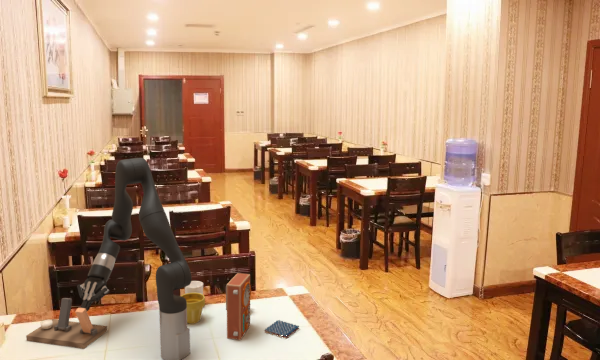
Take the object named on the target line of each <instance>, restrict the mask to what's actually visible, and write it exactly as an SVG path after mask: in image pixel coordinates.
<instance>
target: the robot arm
mask: <svg viewBox="0 0 600 360" xmlns="http://www.w3.org/2000/svg"><path fill="white" fill-rule="evenodd" d="M114 174H115V176H114V177H115V178H114V203H113V209H112V214H111V219H109V220H108V221H106V223H105V225H104V228H103V236H102V242H101V245H100V248H99V249H98V250H99V251H97V252H98V253H97V254H96V256H95V258H94V259H93V262H92V264H91V266H90V268H89V271H88V273H87V278H86V279H85V281H83V283H82V284H80V283H79V284H77V286H76V288H77V291H78V292H77V293H78V295H79V298H80V299H81V300H83V301H82V303H81V305H80V307H79V308H86V311H87V312H89V310H90V308H91V306H92V305H93V302H95V303H96V302H98V301H100V300H101V299H103V298H104V297H105V296H107V295H108V294H109V292H110V289H108V287H107V282H108V281H109V279H110V277H111V274H112V272H113V269H114V267H115V262H116V260H117V257H118V255H119V253H120V250H121V246H120V244H118V243H117V242H115V241H113V240H112V239H116V240H119V241H123V242H124V241H128V240H129V239H130V238H131V235H132V234H133V233H132V232H133V226H132V219H131V216H132V214H133V208H134V202H133V200H132V198H131V196H130V195H129V193H128V191H127V189H126V188H127V186H128V185H134V184H135V185H136V184H139V183H140V184H141V186H142V191H143V197H142V201H141V203H140V207H139V211H138V220H139V223H140V226H141V227H142V231H143V233H144V235H145V237H146V238H147V239H148V240H150V242H151V243H153V244H154V245H156V246H157V247H158V248H159V249H161V250H162V251H163V252H164V254H165V256H166V257H167V258H168V260H169V262H170V263H166V264H163V265H160V266H158V267H157V269H156V271H155V285H156V298H157V302H158V310H159V311H158V312H159V313H158V314H159V334H160V335H159V339H160V357H161V359H163V360H184V358H186V357H187V356H188V355H190V354H191V341H190V340H191V335H190V334H191V333H190V331H191V330H190V328H188V323H187V301H186V299H185V298H184V297H181V295H176V294H174V291H176V290H179V289H183V288H185V287H186V286H188V285H190V283H191V281H193V280H192V279H193V278H192V272H191V269H190V266H189V263H188V262H187V260H186V257H185V256H184V253H183V252H182V250H181V248H180V246H179V244H178V242H177V239H176V237H175V235H174V232H173V229H172V227H171V225H170V221H169V219H168V216H167V214H166V211H165V209H164V207H163V204H162V202H161V199H160V196H159V194H158V191H157V188H156V184H155V182H154V177H153V175H152V171H151V168H150V165H149V163H148V161H147V159H145V158H144V157H135V158H133V157H132V158H127V159H121V160H118V162H117V164H116V166H115V173H114ZM111 238H112V239H111Z"/></svg>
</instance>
